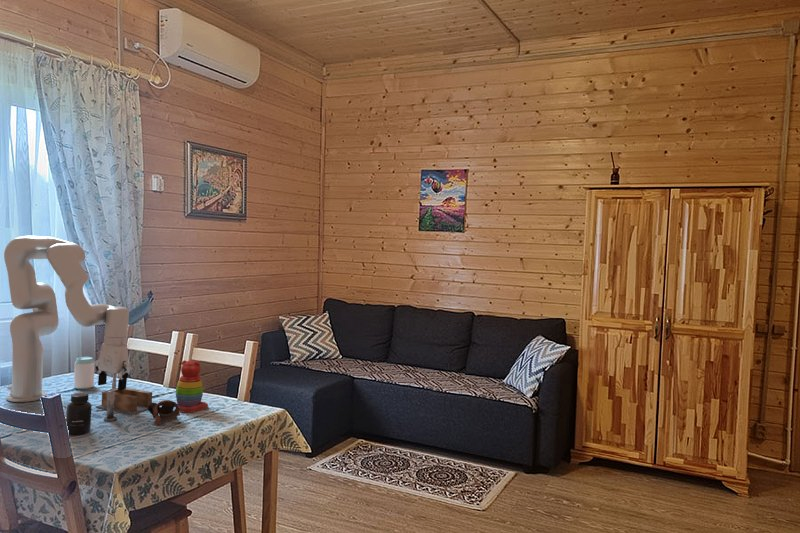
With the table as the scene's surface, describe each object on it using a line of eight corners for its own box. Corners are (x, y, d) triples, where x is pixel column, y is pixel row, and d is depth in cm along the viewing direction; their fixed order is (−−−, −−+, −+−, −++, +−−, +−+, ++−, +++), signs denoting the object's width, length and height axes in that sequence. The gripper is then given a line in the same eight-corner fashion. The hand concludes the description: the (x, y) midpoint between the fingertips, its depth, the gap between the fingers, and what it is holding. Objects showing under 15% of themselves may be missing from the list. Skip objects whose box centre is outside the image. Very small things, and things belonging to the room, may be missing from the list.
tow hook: (117, 390, 236) (102, 395, 227) (119, 358, 236) (104, 361, 227) (136, 392, 235) (122, 397, 225) (138, 360, 235) (124, 363, 225)
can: (78, 390, 231) (79, 360, 231) (70, 387, 236) (71, 357, 235) (96, 387, 237) (97, 358, 236) (89, 384, 241) (89, 355, 241)
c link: (101, 405, 211) (101, 392, 211) (121, 400, 219) (122, 386, 219) (132, 411, 206) (132, 397, 206) (151, 405, 214) (152, 392, 214)
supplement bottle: (73, 437, 179) (74, 398, 179) (61, 433, 183) (62, 394, 182) (95, 432, 185) (96, 394, 184) (83, 427, 189) (84, 390, 188)
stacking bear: (209, 406, 218) (211, 359, 218) (196, 414, 208) (198, 364, 208) (182, 404, 220) (184, 356, 219) (168, 411, 210) (169, 362, 209)
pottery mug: (186, 419, 203) (186, 402, 199) (169, 439, 195) (169, 421, 191) (155, 407, 205) (154, 390, 201) (137, 426, 197) (136, 409, 193)
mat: (95, 407, 210) (95, 406, 210) (122, 399, 221) (122, 398, 221) (131, 414, 204) (131, 413, 204) (157, 406, 215) (157, 405, 215)
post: (101, 420, 197) (102, 391, 196) (110, 417, 200) (111, 389, 200) (109, 422, 195) (110, 393, 195) (119, 419, 199) (119, 391, 198)
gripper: (89, 338, 214) (85, 384, 214) (125, 345, 207) (121, 393, 208) (106, 336, 221) (102, 380, 221) (141, 343, 214) (137, 389, 215)
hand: (111, 387), depth 215 cm, fingers open, 9 cm apart
